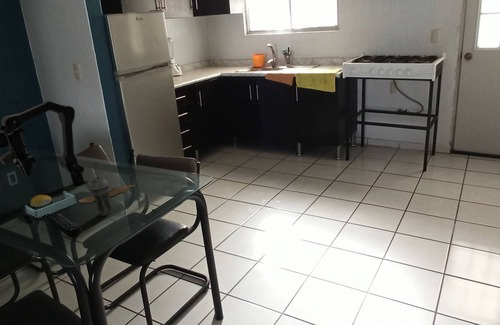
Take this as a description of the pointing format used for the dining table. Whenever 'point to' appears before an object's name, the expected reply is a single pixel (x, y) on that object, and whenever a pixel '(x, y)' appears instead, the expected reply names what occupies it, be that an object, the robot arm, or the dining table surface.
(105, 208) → the beverage cup
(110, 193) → the brown carved slab
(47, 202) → the bread roll
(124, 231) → the dining table surface
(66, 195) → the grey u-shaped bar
